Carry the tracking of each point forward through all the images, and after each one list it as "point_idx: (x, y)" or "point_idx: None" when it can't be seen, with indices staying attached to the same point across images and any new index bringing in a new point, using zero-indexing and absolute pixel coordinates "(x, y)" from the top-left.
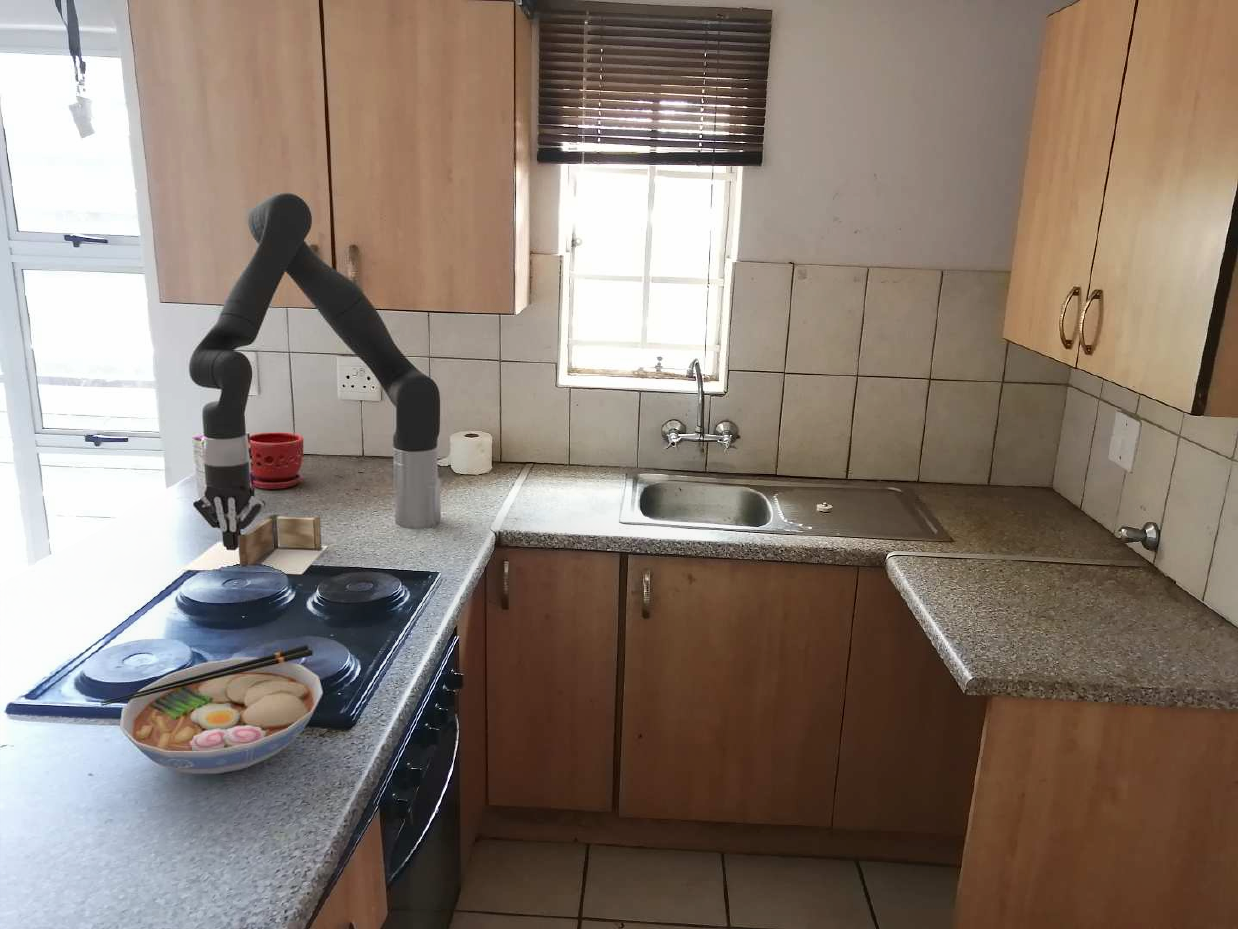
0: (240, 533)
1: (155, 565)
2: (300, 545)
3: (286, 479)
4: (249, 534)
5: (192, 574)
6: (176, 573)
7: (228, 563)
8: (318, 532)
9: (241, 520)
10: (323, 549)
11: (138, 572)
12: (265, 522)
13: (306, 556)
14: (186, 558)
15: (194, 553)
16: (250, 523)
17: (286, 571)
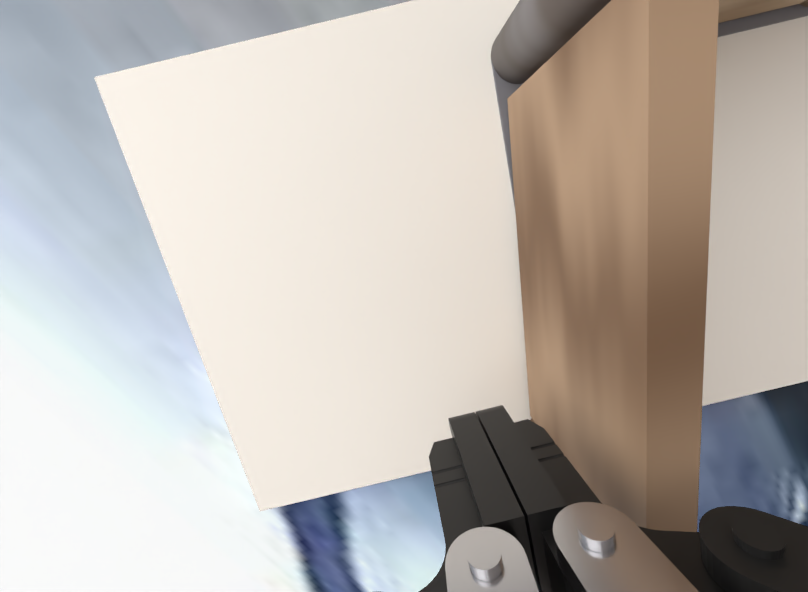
0: (587, 489)
1: (76, 485)
2: (722, 16)
3: None
4: (695, 499)
5: (329, 511)
6: (252, 525)
7: (417, 378)
8: None
9: (689, 582)
10: None
11: (83, 570)
12: (694, 114)
13: (777, 139)
14: (136, 361)
15: (111, 283)
16: (782, 526)
17: (751, 369)
